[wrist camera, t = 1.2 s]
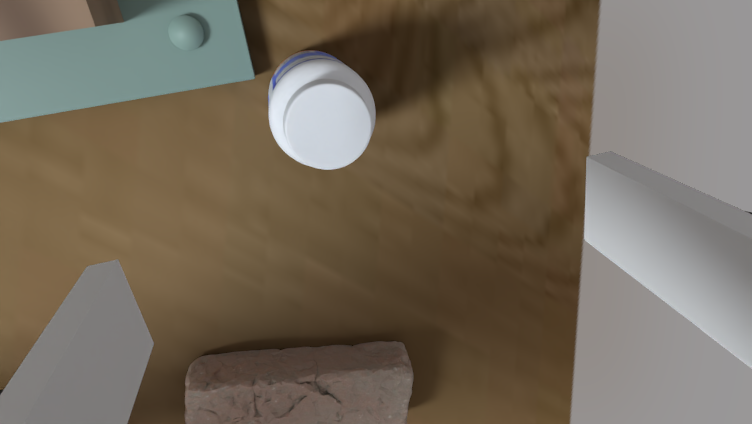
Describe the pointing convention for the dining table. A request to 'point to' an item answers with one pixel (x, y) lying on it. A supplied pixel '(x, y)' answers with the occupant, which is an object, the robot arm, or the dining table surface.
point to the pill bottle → (320, 110)
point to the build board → (125, 58)
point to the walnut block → (54, 16)
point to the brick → (302, 386)
